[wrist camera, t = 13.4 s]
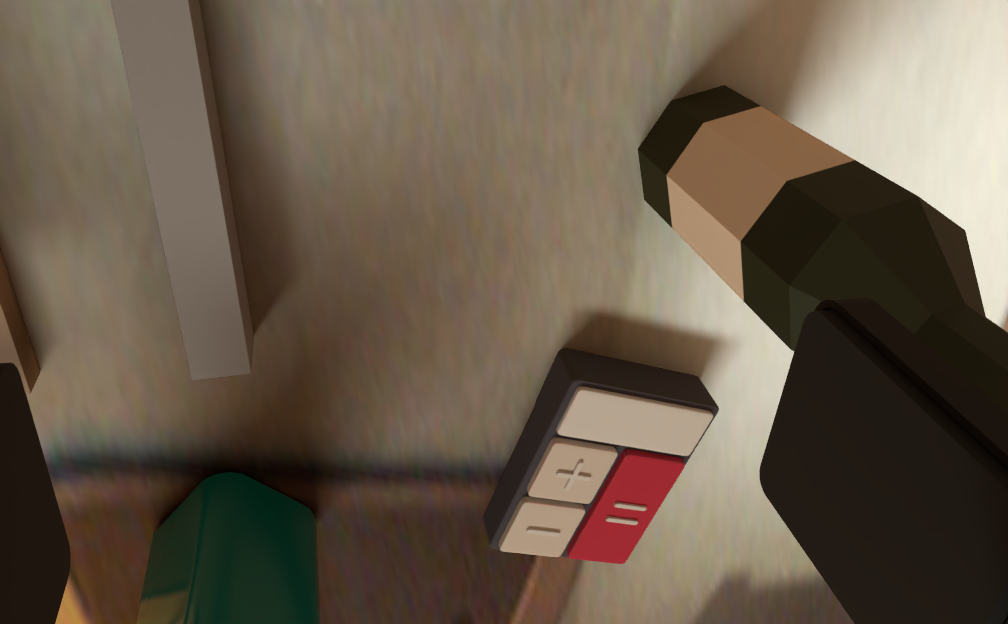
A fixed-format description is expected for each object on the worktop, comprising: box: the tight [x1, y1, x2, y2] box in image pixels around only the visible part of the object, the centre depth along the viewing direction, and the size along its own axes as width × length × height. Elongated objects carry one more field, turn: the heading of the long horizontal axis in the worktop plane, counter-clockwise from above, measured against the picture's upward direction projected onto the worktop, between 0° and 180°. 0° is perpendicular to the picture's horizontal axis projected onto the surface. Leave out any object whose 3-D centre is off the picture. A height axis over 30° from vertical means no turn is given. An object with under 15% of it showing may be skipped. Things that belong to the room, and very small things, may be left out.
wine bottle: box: [638, 85, 1008, 413], centre depth 35 cm, size 8×8×30 cm
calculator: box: [483, 348, 719, 564], centre depth 56 cm, size 11×4×15 cm
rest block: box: [111, 0, 254, 380], centre depth 40 cm, size 20×3×4 cm, turn 179°
